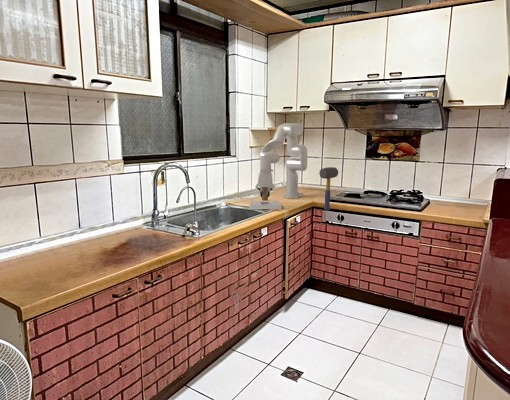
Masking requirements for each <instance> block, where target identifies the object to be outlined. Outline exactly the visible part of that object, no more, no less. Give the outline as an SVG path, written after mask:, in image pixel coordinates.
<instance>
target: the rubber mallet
mask: <svg viewBox="0 0 510 400" xmlns="http://www.w3.org/2000/svg"><path fill="white" fill-rule="evenodd" d="M318 174H319V177H320V178H321V179H323V180H325V179H326V184H325V185H326V187H325V191H324V192H325V193H324V206H323V210H324V211H325V212H330V209H331V207H330V206H331V205H330V204H331V179H333V178H337V177H338V175H339V169H338V168H337V167H333V166H330V167H329V166H328V167H323V168H321V169H320V170H319V173H318Z"/></svg>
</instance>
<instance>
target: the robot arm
mask: <svg viewBox="0 0 510 400" xmlns="http://www.w3.org/2000/svg"><path fill="white" fill-rule="evenodd" d="M303 132H304V126H303V124H301V123H297V122H296V123H295V122H293V123H292V122H285V123H282V124H280V125H278V126H277V128H276V130H275V133H274V134H273V137H272V139H271V140H269V142H267V143H266V144H265V145H264V146H263V147H262V148H261V151H260V154H259V162H260V163H259V165H260V166H259V170H260V171H259V173H258V178H257V183H256V185H255V186H254V187H255V189H257V190H258V191H259V197H261V198H262V187H263V188H268V199H269V197H270V196H271V191H272V190H274V189H275V188H276V187H275V184H274V183H273V174H272V172H274V169H272V164H277V163H279V161H280V155H279V154H278V153H277V152H271V151H273V150H275V149H278V148H280V147H282V146H283V145H284V143H285V141H286V153H287V155H288V156H289V158H287V159H286V160H285V163H284V164H285V171H286V172H285V175H286V178H285V180H286V182H285V194H283V198H286V199H299V198H300V196H304V193H303V192H299V174H298V172H297V171H299V172H305V171H306V170H307V168H308V148H307V146H306V145H304V144H299V139H298V138H299V137H298V136H301V135H302V134H303Z"/></svg>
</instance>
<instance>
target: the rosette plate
mask: <svg viewBox="0 0 510 400" xmlns="http://www.w3.org/2000/svg"><path fill="white" fill-rule="evenodd" d="M248 204H249V205H248V206H249V207H248V208H249V210H263V209H278V211H279V210H280V211H281V210H282V203H281V201H278V200H276V201H275V200H268V201H262V200H249V201H248Z"/></svg>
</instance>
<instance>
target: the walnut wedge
mask: <svg viewBox="0 0 510 400" xmlns="http://www.w3.org/2000/svg"><path fill="white" fill-rule="evenodd" d="M261 201H269V198H268V188H263V187H262V197H261Z"/></svg>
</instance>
